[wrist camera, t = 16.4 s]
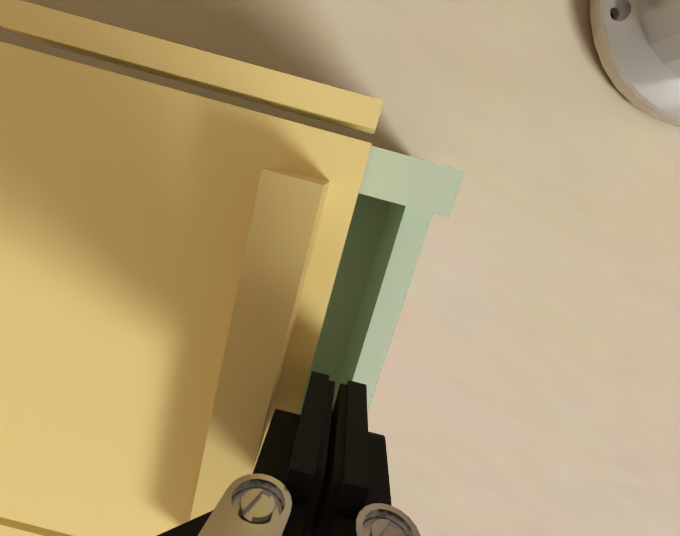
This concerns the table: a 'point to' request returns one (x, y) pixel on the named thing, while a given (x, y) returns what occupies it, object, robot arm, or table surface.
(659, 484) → the table surface
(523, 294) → the table surface
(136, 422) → the lid
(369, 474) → the robot arm
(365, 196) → the box
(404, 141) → the table surface
